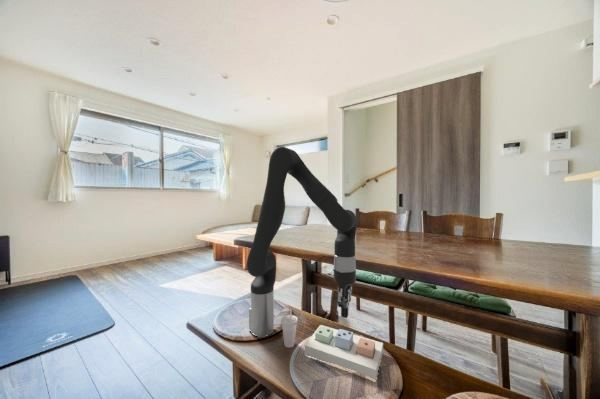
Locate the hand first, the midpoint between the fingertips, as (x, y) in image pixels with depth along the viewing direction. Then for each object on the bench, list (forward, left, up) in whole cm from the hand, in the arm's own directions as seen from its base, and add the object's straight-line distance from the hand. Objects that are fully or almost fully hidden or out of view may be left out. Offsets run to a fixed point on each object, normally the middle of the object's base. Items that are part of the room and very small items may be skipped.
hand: (344, 316), depth 81 cm
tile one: (+7, 0, -13) cm, 15 cm away
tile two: (-8, 0, -13) cm, 15 cm away
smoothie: (-20, -4, -14) cm, 25 cm away
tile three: (0, 0, -12) cm, 12 cm away
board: (0, 0, -14) cm, 14 cm away
